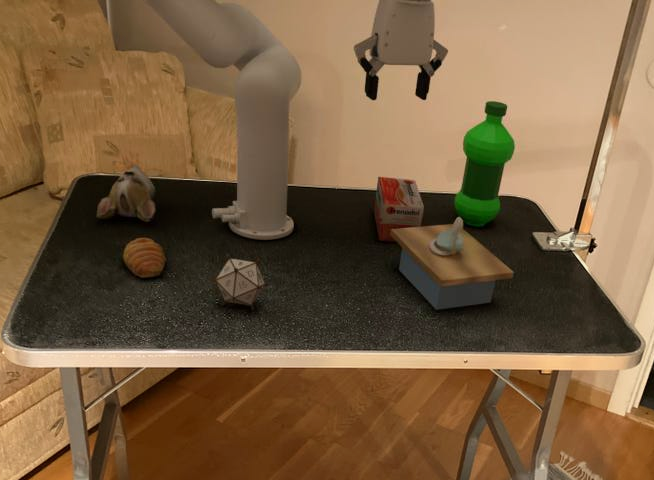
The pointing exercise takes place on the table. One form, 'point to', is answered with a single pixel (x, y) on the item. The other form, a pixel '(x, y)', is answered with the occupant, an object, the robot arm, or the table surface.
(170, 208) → the table surface
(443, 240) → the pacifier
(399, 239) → the board
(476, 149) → the plastic bottle
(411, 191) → the medicine box
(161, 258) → the pastry
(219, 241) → the table surface
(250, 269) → the game die
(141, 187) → the ceramic sculpture
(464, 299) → the blue box
